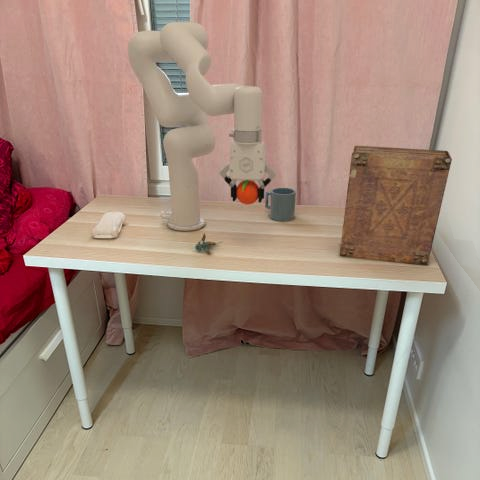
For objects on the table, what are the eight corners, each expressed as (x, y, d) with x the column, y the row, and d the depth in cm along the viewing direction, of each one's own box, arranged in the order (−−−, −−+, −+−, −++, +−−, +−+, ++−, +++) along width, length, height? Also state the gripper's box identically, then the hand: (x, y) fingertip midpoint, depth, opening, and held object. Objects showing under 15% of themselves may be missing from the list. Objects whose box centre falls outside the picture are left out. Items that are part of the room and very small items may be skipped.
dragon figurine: (200, 238, 151) (190, 237, 144) (220, 231, 149) (212, 230, 142) (205, 258, 152) (196, 258, 144) (226, 251, 149) (218, 251, 142)
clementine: (253, 209, 136) (254, 184, 133) (231, 207, 138) (231, 182, 135) (262, 201, 143) (263, 177, 139) (240, 199, 145) (240, 175, 141)
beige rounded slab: (116, 239, 153) (114, 226, 151) (91, 239, 153) (89, 226, 151) (128, 221, 169) (126, 208, 166) (105, 220, 169) (104, 208, 167)
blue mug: (298, 216, 173) (300, 190, 168) (285, 222, 168) (286, 196, 163) (272, 209, 180) (273, 184, 175) (258, 215, 174) (258, 189, 169)
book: (338, 255, 143) (351, 151, 127) (341, 244, 150) (353, 145, 135) (427, 265, 137) (452, 157, 121) (426, 253, 144) (448, 150, 129)
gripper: (214, 138, 129) (215, 202, 138) (278, 140, 126) (275, 205, 136) (219, 133, 135) (220, 195, 144) (280, 135, 133) (278, 198, 142)
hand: (247, 200), depth 140 cm, fingers closed on clementine, 7 cm apart
